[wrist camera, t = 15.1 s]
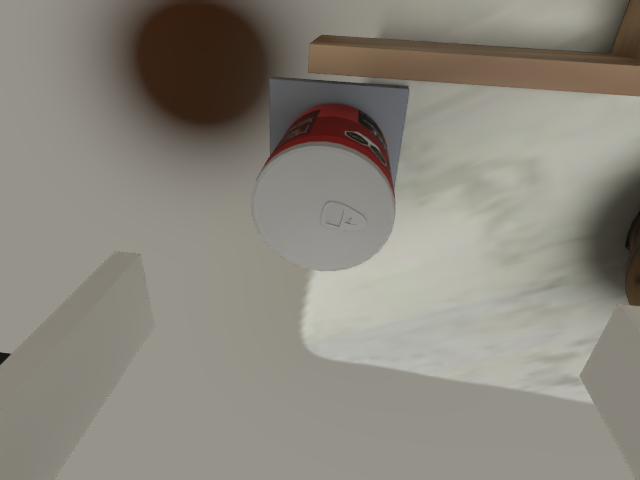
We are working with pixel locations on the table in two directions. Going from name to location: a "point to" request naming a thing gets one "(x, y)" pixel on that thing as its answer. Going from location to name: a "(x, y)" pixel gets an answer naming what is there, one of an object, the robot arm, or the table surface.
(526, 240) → the table surface
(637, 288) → the ceramic jug
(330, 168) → the canned food
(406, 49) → the shelf
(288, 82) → the coaster
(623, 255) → the table surface
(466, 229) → the table surface
